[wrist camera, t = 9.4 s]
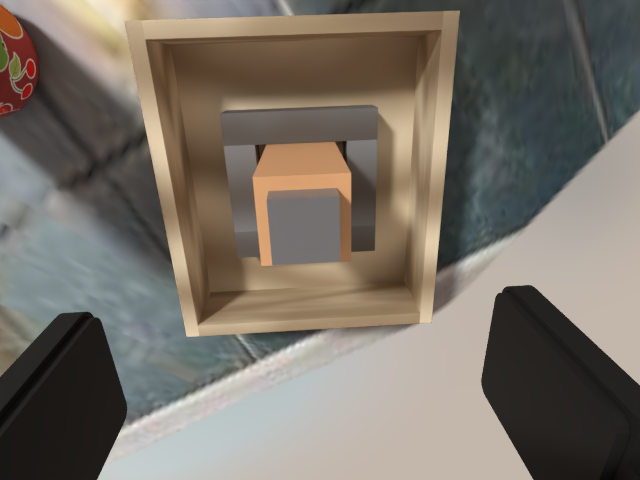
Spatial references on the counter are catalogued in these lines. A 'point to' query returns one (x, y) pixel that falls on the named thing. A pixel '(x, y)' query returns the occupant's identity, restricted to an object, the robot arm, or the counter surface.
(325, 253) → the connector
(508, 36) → the counter surface
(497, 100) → the counter surface
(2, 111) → the smoothie
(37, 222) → the counter surface
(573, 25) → the counter surface
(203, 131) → the walled tray
